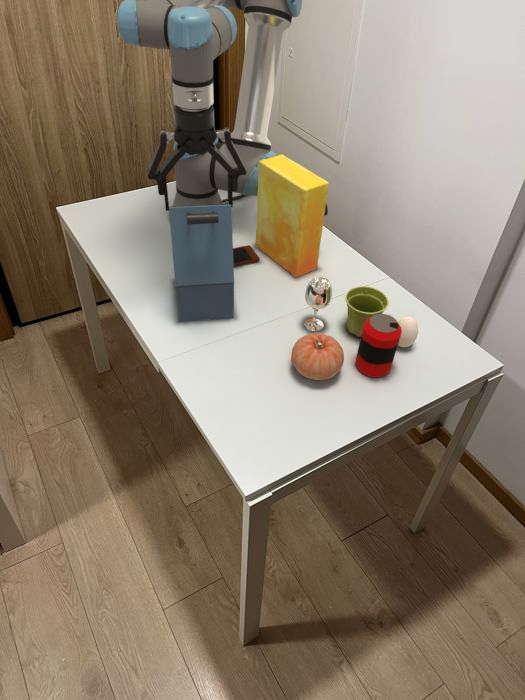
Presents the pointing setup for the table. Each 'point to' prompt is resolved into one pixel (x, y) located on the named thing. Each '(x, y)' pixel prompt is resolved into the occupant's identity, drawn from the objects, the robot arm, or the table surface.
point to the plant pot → (363, 306)
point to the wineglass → (317, 300)
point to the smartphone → (244, 255)
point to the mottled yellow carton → (290, 214)
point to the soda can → (378, 345)
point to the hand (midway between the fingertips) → (199, 206)
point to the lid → (202, 244)
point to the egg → (407, 331)
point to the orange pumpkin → (317, 356)
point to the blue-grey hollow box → (205, 302)
